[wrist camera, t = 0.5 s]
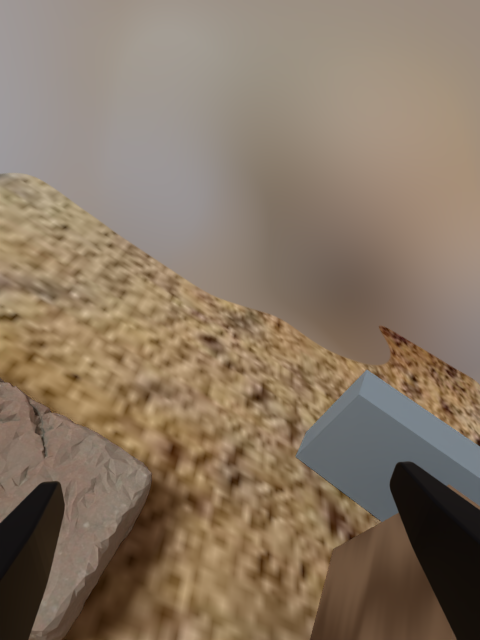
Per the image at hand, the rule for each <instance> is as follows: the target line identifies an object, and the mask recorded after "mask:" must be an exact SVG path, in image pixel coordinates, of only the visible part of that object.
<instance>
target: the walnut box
mask: <svg viewBox="0 0 480 640" xmlns="http://www.w3.org/2000/svg"><path fill="white" fill-rule="evenodd" d="M447 487H449V488H450V489H452V490H453V491H454V492H456V493H457V494H459V495H460V496H461V497H463V498H464V499H466V500H467V501H468V502H470V503H471V504H473V505H474V506H475V507H477V508H478V509H480V506H479V505H477V504H476V503H475V502H473V501H472V500H470V499H469V498H468V497H466V496H465V495H463V494H462V493H461V492H459V491H458V490H456V489H455V488H454V487H452V486H451V485H447ZM310 640H457V639H456V637H455V635H454V633H453V631H452V629H451V627H450V625H449V623H448V620H447V618H446V616H445V614H444V612H443V610H442V608H441V606H440V604H439V602H438V600H437V598H436V596H435V594H434V592H433V590H432V588H431V585H430V583H429V581H428V579H427V577H426V575H425V573H424V571H423V569H422V567H421V565H420V563H419V561H418V559H417V557H416V554H415V552H414V550H413V548H412V546H411V543H410V541H409V538H408V536H407V533H406V531H405V528H404V525H403V523H402V520H401V517H400V515H399V513H397V514H395V515H393V516H392V517H390V518H388V519H386V520H385V521H383V522H381V523H379V524H377V525H376V526H374V527H372V528H370V529H369V530H367V531H365V532H363V533H361V534H360V535H358V536H356V537H354V538H352V539H351V540H349V541H347V542H345V543H344V544H342V545H340V546H338V547H336V548H335V549H333V553H332V557H331V561H330V565H329V569H328V572H327V576H326V580H325V584H324V588H323V592H322V596H321V599H320V603H319V607H318V611H317V615H316V619H315V623H314V626H313V630H312V634H311V638H310Z"/></svg>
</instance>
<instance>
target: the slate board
mask: <svg viewBox="0 0 480 640" xmlns="http://www.w3.org/2000/svg"><path fill="white" fill-rule="evenodd" d="M296 457H297V458H298V459H299V460H301V461H302V462H303V463H305V464H306V465H307V466H308V467H310V468H311V469H312V470H314V471H315V472H316V473H318V474H319V475H320V476H322V477H323V478H324V479H326V480H327V481H328V482H330V483H331V484H332V485H334V486H335V487H336V488H338V489H339V490H340V491H342V492H343V493H344V494H346V495H347V496H348V497H350V498H351V499H352V500H354V501H355V502H356V503H358V504H359V505H360V506H362V507H363V508H364V509H366V510H367V511H368V512H370V513H371V514H372V515H374V516H375V517H376V518H377V519H379V520H380V521H381V522H383V521H385V520H386V519H388V518H390V517H392V516H393V515H395V514H397V513H399V512H398V509H397V507H396V504H395V502H394V499H393V496H392V494H391V491H390V479H391V476H392V474H393V471H394V468H395V465H396V464H397V463H398V462H405V461H411V462H413V463H415V464H417V465H418V466H419V467H421V468H422V469H424V470H425V471H426V472H428V473H429V474H431V475H432V476H433V477H435V478H436V479H438V480H439V481H440V482H442V483H443V484H445V485H446V486H447V485H451V486H452V487H454V488H455V489H456V490H458V491H459V492H461V493H462V494H463V495H465V496H466V497H468V498H469V499H470V500H472V501H473V502H475V503H476V504H477V505H479V506H480V446H478V445H477V444H475V443H474V442H472V441H471V440H469V439H468V438H466V437H465V436H463V435H462V434H460V433H459V432H458V431H456V430H455V429H453V428H452V427H450V426H449V425H447V424H446V423H444V422H443V421H441V420H440V419H438V418H437V417H435V416H434V415H433V414H431V413H430V412H428V411H427V410H425V409H424V408H422V407H421V406H419V405H418V404H416V403H415V402H413V401H412V400H410V399H409V398H408V397H406V396H405V395H403V394H402V393H400V392H399V391H397V390H396V389H394V388H393V387H391V386H390V385H388V384H387V383H385V382H384V381H383V380H381V379H380V378H378V377H377V376H375V375H374V374H372V373H371V372H369V371H368V370H366V371H365V372H364V373H363V374H362V375H361V376H360V377H359V378H358V379H357V380H356V381H355V382H354V383H353V384H352V385H351V386H350V388H349V389H348V390H347V391H346V392H345V393H344V394H343V395H342V396H341V397H340V398H339V399H338V400H337V401H336V402H335V403H334V404H333V405H332V406H331V407H330V408H329V409H328V410H327V411H326V412H325V413H324V414H323V415H322V416H321V417H320V418H319V420H318V421H317V422H316V423H315V424H314V425H313V426H312V427H311V428H310V429H309V430H308V431H307V432H306V434H305V437H304V439H303V441H302V443H301V445H300V448H299V450H298V452H297V454H296Z"/></svg>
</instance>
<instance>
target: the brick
mask: <svg viewBox="0 0 480 640" xmlns="http://www.w3.org/2000/svg"><path fill="white" fill-rule="evenodd" d="M47 481H59V482H60V484H61V487H62V492H63V497H64V502H65V511H64V516H63V520H62V525H61V529H60V533H59V537H58V542H57V546H56V550H55V554H54V559H53V563H52V567H51V571H50V575H49V579H48V583H47V586H46V589H45V593H44V596H43V599H42V601H41V604H40V607H39V610H38V613H37V616H36V619H35V622H34V625H33V628H32V631H31V634H30V637H29V640H62V639H63V638H64V637H65V636H66V634H67V633H68V631H69V629H70V628H71V626H72V624H73V623H74V621H75V620H76V618H77V617H78V615H79V614H80V613H81V611H82V609H83V606H84V603H85V600H86V599H87V598H88V597H89V595H90V593H91V591H92V589H93V588H94V587H95V585H96V584H97V583H98V580H99V578H100V576H101V574H102V573H103V571H104V569H105V568H106V566H107V565H108V563H109V562H110V560H111V558H112V557H113V555H114V553H115V552H116V550H117V548H118V547H119V545H120V543H121V542H122V541H123V540H124V539H125V538H126V537H127V535H128V534H129V533H130V531H131V530H132V528H133V525H134V523H135V521H136V519H137V518H138V516H139V514H140V512H141V510H142V508H143V506H144V504H145V502H146V499H147V497H148V494H149V490H150V487H151V481H152V473H151V472H150V471H149V470H148V468H147V467H146V465H145V464H144V463H143V462H141V461H139V460H138V459H136V458H134V457H133V456H131V455H130V454H128V453H127V452H126V451H124V450H123V449H122V448H120V447H119V446H117V445H115V444H113V443H112V442H110V441H109V440H108V439H106V438H105V437H103V436H101V435H100V434H98V433H96V432H95V431H93V430H91V429H89V428H86V427H84V426H81V425H78V424H75V423H74V422H72V421H71V420H70V419H68V418H67V417H65V416H63V415H60V414H57V413H51V411H50V409H49V408H48V407H46V406H44V405H43V404H41V403H38V402H36V401H34V400H32V399H30V398H29V397H28V396H27V395H26V394H25V393H23V392H22V391H21V390H19V389H18V388H17V387H16V386H14V387H13V386H12V385H11V384H10V383H5V382H4V381H3V380H2V379H1V378H0V523H1V522H2V521H3V520H4V519H5V518H6V517H7V516H8V515H9V514H10V513H11V512H12V511H13V510H14V509H15V508H16V507H17V506H18V505H19V504H20V503H21V502H22V501H23V500H24V499H25V498H26V497H27V496H28V495H29V494H30V493H31V492H32V491H33V490H34V489H35V488H36V487H37V486H38V485H39V484H40V483H42V482H47Z"/></svg>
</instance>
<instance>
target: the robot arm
mask: <svg viewBox="0 0 480 640" xmlns="http://www.w3.org/2000/svg"><path fill="white" fill-rule="evenodd" d="M390 491H391V494H392V496H393V499H394V502H395V504H396V507H397V509H398V512H399V515H400V517H401V520H402V523H403V525H404V528H405V531H406V533H407V536H408V538H409V541H410V543H411V546H412V548H413V550H414V552H415V554H416V557H417V559H418V561H419V563H420V565H421V567H422V569H423V571H424V573H425V575H426V577H427V579H428V581H429V583H430V585H431V588H432V590H433V592H434V594H435V596H436V598H437V600H438V602H439V604H440V606H441V608H442V610H443V612H444V614H445V616H446V618H447V620H448V623H449V625H450V627H451V629H452V631H453V633H454V635H455V637H456V639H457V640H480V509H478V508H477V507H475V506H474V505H473V504H471V503H470V502H468V501H467V500H466V499H464V498H463V497H461V496H460V495H459V494H457V493H456V492H454V491H453V490H452V489H450V488H449V487H447V486H446V485H445V484H443V483H442V482H440V481H439V480H438V479H436V478H435V477H433V476H432V475H431V474H429V473H428V472H426V471H425V470H424V469H422V468H421V467H419V466H418V465H417V464H415V463H413V462H411V461H405V462H398V463H397V464H396V465H395V468H394V471H393V474H392V476H391V479H390ZM64 511H65V502H64V497H63V492H62V487H61V484H60V482H59V481H47V482H42V483H40V484H39V485H38V486H37V487H36V488H35V489H34V490H33V491H32V492H31V493H30V494H29V495H28V496H27V497H26V498H25V499H24V500H23V501H22V502H21V503H20V504H19V505H18V506H17V507H16V508H15V509H14V510H13V511H12V512H11V513H10V514H9V515H8V516H7V517H6V518H5V519H4V520H3V521H2V522H1V523H0V640H29V637H30V634H31V631H32V628H33V625H34V622H35V619H36V616H37V613H38V610H39V607H40V604H41V601H42V599H43V596H44V593H45V589H46V586H47V583H48V579H49V575H50V571H51V567H52V563H53V559H54V554H55V550H56V546H57V542H58V537H59V533H60V529H61V525H62V520H63V516H64Z"/></svg>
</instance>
